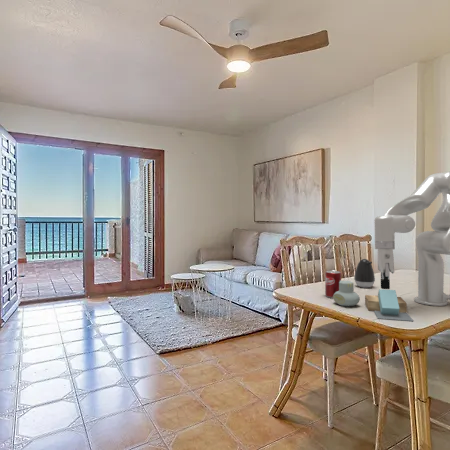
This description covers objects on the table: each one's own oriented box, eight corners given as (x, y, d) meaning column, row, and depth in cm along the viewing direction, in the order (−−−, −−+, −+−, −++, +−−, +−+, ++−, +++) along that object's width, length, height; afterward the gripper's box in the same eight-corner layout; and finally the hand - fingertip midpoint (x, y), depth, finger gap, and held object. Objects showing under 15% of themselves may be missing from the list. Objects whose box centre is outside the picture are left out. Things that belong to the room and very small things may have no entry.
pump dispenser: (363, 289, 170) (363, 260, 169) (350, 285, 180) (350, 258, 179) (379, 288, 172) (379, 259, 172) (366, 284, 182) (366, 257, 182)
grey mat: (406, 313, 129) (406, 312, 129) (413, 321, 119) (413, 320, 119) (373, 311, 132) (373, 310, 132) (377, 318, 122) (377, 318, 122)
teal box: (393, 296, 132) (395, 290, 130) (398, 315, 126) (399, 308, 123) (377, 295, 134) (378, 289, 132) (381, 314, 127) (382, 307, 125)
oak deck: (400, 306, 139) (400, 296, 139) (406, 313, 129) (406, 303, 129) (365, 304, 143) (365, 294, 143) (368, 310, 133) (368, 300, 133)
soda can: (330, 299, 152) (330, 273, 151) (322, 295, 159) (322, 270, 158) (344, 298, 153) (344, 272, 153) (336, 294, 160) (336, 270, 160)
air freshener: (330, 302, 145) (330, 280, 145) (344, 300, 149) (344, 278, 148) (348, 309, 135) (348, 285, 135) (363, 306, 139) (363, 283, 138)
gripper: (398, 247, 129) (399, 293, 129) (390, 243, 143) (391, 285, 144) (377, 247, 131) (378, 292, 132) (372, 243, 145) (372, 284, 146)
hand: (385, 288), depth 138 cm, fingers closed
